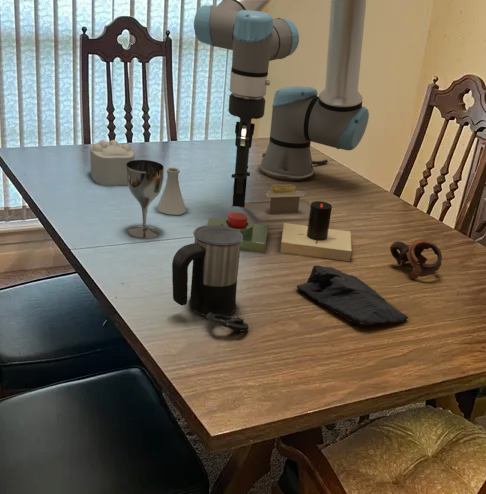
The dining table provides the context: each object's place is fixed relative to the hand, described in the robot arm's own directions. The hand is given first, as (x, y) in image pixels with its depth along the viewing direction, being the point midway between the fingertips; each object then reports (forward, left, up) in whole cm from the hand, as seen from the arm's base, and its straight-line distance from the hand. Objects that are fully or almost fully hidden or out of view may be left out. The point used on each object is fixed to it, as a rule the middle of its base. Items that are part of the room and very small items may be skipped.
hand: (238, 205), depth 172 cm
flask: (+4, -21, -8) cm, 23 cm away
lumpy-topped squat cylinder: (+6, -47, -8) cm, 48 cm away
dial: (-15, +11, -6) cm, 19 cm away
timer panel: (-15, +11, -8) cm, 20 cm away
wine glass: (+17, -12, -8) cm, 22 cm away
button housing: (0, 0, -8) cm, 8 cm away
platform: (-22, -10, -8) cm, 26 cm away
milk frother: (+25, +29, -8) cm, 39 cm away
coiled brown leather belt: (-27, +31, -8) cm, 42 cm away
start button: (0, 0, -5) cm, 5 cm away
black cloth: (-2, +37, -8) cm, 38 cm away
